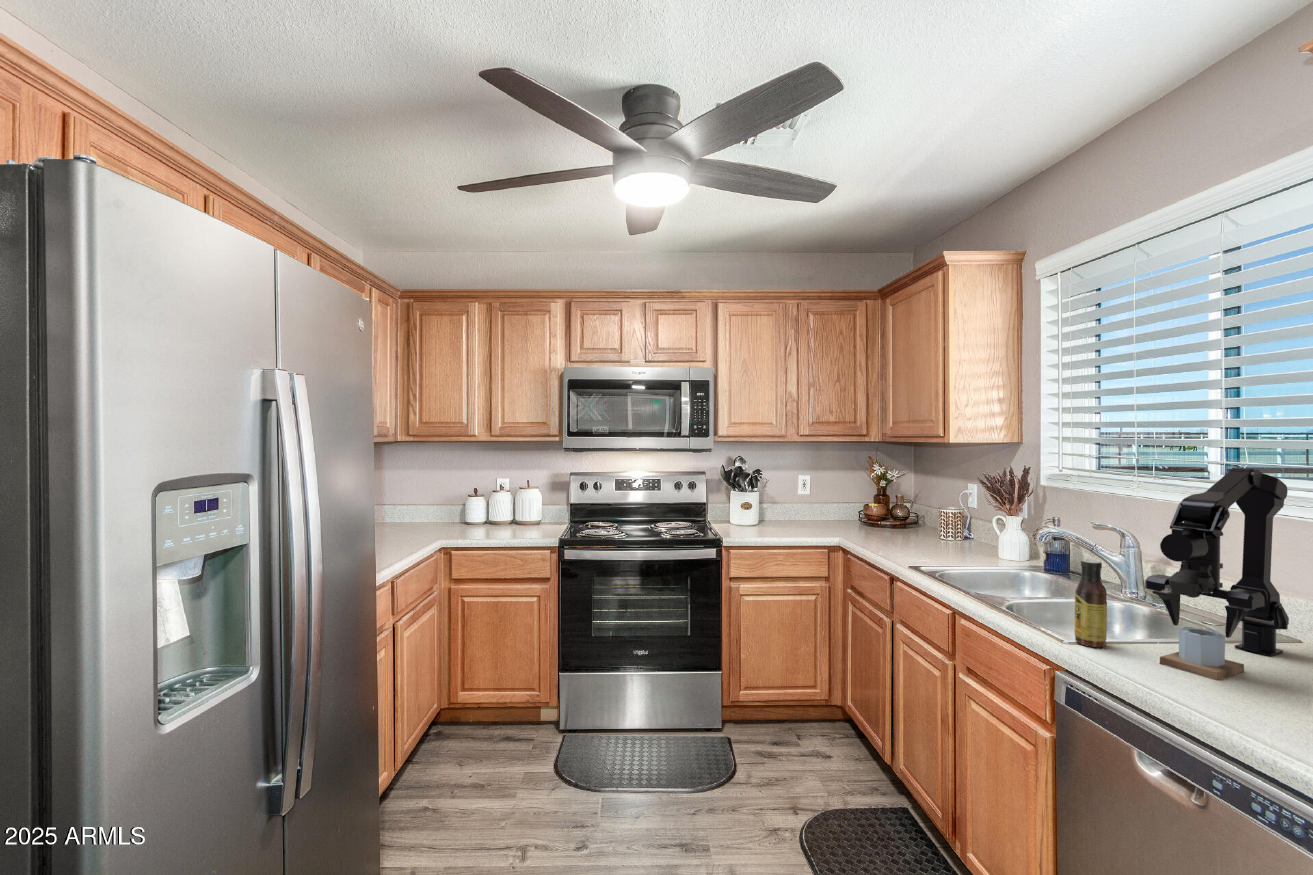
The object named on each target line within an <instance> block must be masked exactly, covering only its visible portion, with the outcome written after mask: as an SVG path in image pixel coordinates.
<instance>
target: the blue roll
mask: <svg viewBox="0 0 1313 875" xmlns="http://www.w3.org/2000/svg"><path fill="white" fill-rule="evenodd" d="M1198 632H1203V633H1205V634H1206V635H1200V634H1196V633H1198ZM1178 652H1179V657H1181V658H1182V659H1183V660H1185V661H1188V662H1191V663H1195V664H1199V665H1205V666H1215V667H1219V666H1222V665H1225V659H1226V635H1224V634H1223V633H1220V632H1219V631H1215V630H1212V629H1206V628H1203V627H1190V626H1184V627H1182V628H1178Z"/></svg>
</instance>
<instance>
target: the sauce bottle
mask: <svg viewBox="0 0 1313 875" xmlns="http://www.w3.org/2000/svg"><path fill="white" fill-rule="evenodd" d="M1102 564H1103V563H1102V561H1101V560H1097V559H1092V558H1091V559H1089V558H1084V559H1081V560H1080V566H1081V576H1080V580H1079V583H1078V585H1077V587H1076V588H1075V591H1074V640H1075V641H1076V643H1078V644H1079V645H1081V646H1084V647H1085V646H1086V647H1092V648H1098V649H1099V648H1103V647H1105V646H1106V645H1107V636H1108V635H1107V631H1108V630H1107V628H1108V623H1107V622H1108V620H1107V619H1108V618H1107V617H1108V602H1107V589H1106V588H1105V585H1103V583H1102V581H1101V579H1102V575H1101V574H1102V572H1101V570H1102V567H1103V566H1102Z"/></svg>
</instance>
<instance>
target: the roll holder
mask: <svg viewBox="0 0 1313 875" xmlns="http://www.w3.org/2000/svg"><path fill="white" fill-rule="evenodd" d="M1196 634H1200V635H1206V634H1205V633H1203V632H1198V633H1196ZM1159 664H1160V665H1164V666H1167V667H1169V668H1174V669H1176V670H1177V669H1178V670H1180V671H1185V672H1188V673H1191V674H1195V675H1198V676H1202V677H1205V678H1209V679H1212V680H1216V681H1219V680H1221V678H1222V679H1224V678H1228V677H1230V675H1231V676H1234V675H1236V673H1237V674H1240V673H1243V671H1244V672H1245V664H1244V663H1241V662H1236V661H1233V660H1229V659H1226V658H1225V665H1222V666H1219V667H1215V666H1205V665H1199V664H1195V663H1191V662H1188V661H1185V660H1183V659H1182V658H1181V657H1179V651H1177V652H1173V653H1169V654H1165V655H1161V656H1159Z"/></svg>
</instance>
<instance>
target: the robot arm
mask: <svg viewBox="0 0 1313 875" xmlns="http://www.w3.org/2000/svg"><path fill="white" fill-rule="evenodd" d="M1287 497H1288V487H1287V484H1285V483H1284V482H1283V480H1281V479H1280V478H1278V477H1275V476H1272V475H1270V474H1266V473H1263V472H1262V471H1261V470H1259V469H1256V468H1252V467H1251V468H1250V467H1249V468H1248V467H1232V468H1228V469H1227V470H1226V472H1225V475H1224V476H1222V477H1221V478H1220V479H1218V480H1217V481H1216V482H1215V483H1214V484H1212V486H1211V487H1209V488H1208V489H1207V490H1206V491H1204V492H1200V493H1196V494H1195V493H1194V494H1193V493H1192V494H1190V495H1189V496H1187V497H1184V498H1183V499H1182V500H1181V501H1180V502H1179V503H1178V505H1177V507H1176V510H1175V512H1174V515H1173V518H1172V519H1171V522H1170V525H1169V529H1170V530H1171V533H1170V534H1167V535H1165V536H1164V537H1163V538H1162V540H1161V542H1160V544H1159V546H1160V547H1159V548H1160V551H1161V553H1162V554H1163V556H1164V557H1166V558H1167V559H1168V560H1170V561H1173V562H1177V563H1179V562H1181V563H1180V569H1179V570H1177V571H1176V572H1174V573H1173V574H1172V575H1171V576H1170V575H1164V574H1155V575H1149V576H1147V577H1146V579H1145V581H1144V584H1145V585H1144V589H1146V590H1151V592H1152V594H1153V595H1156V596H1158V597H1159V598H1160V600H1162V603H1163V604H1164V605H1165V608H1166V610H1167V613H1168V615H1169V617H1170V620H1171V622H1172V625H1173V626H1179V622H1180V614H1181V612H1180V610H1181V609H1180V608H1181V596H1186V597H1188V598H1199V597H1201V596H1205V597H1210V598H1216V599H1221V600H1225V601H1226V602H1227V603H1228V605H1224V609H1225V611H1226V619H1225V629H1224V630H1225V632H1224V633H1225V638H1228V639H1229V638H1231V637H1232V636H1233V634H1234V632H1235V630H1236V629H1237V628H1238V625H1239V624H1240V622H1241V643H1238V644H1234V648H1236V649H1240V650H1243V651H1246V652H1251V653H1256V654H1260V655H1264V656H1268V657H1273V656H1276V655H1279V654H1282V653H1284V650H1283V649H1280V648H1277V630H1286V631H1287V630H1288V628H1289V624H1290V622H1289V621H1290V618H1289V615H1288V614H1287V611H1286V610H1285V608H1284V607H1283V604H1282V603H1281V598H1280V597H1281V595H1280V593H1279V591H1278V590H1277V588H1276V587H1275V585H1273V583H1272V581H1271V576H1272V574H1271V573H1272V570H1271V569H1272V551H1273V550H1272V549H1273V547H1272V546H1273V526H1274V525H1273V524H1274V517H1275V516H1276V515H1277V514H1278V513H1279V512H1280V511H1281V510H1282V509H1283V508H1284V506H1285V505H1284V504H1285V500H1286V499H1287ZM1235 503H1236V505H1237V506H1238V508H1239V509H1240V511H1241V512H1242V513H1243V515H1244V524H1243V527H1244V528H1243V545H1242V547H1243V548H1242V566H1241V567H1242V568H1241V578H1240V579H1239V580H1238V581H1237V583H1235V584H1232V585H1231V587H1230V590H1225V589H1222V588H1223V585H1224V584H1223V582H1221V569H1224V563H1223V562H1222V563H1221V537H1223V536H1224V532H1223V529H1224V527H1225V525H1226V523H1227V522H1228V520H1229V519H1230V510H1229V508H1230V507H1231V506H1233V505H1234V504H1235Z"/></svg>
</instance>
